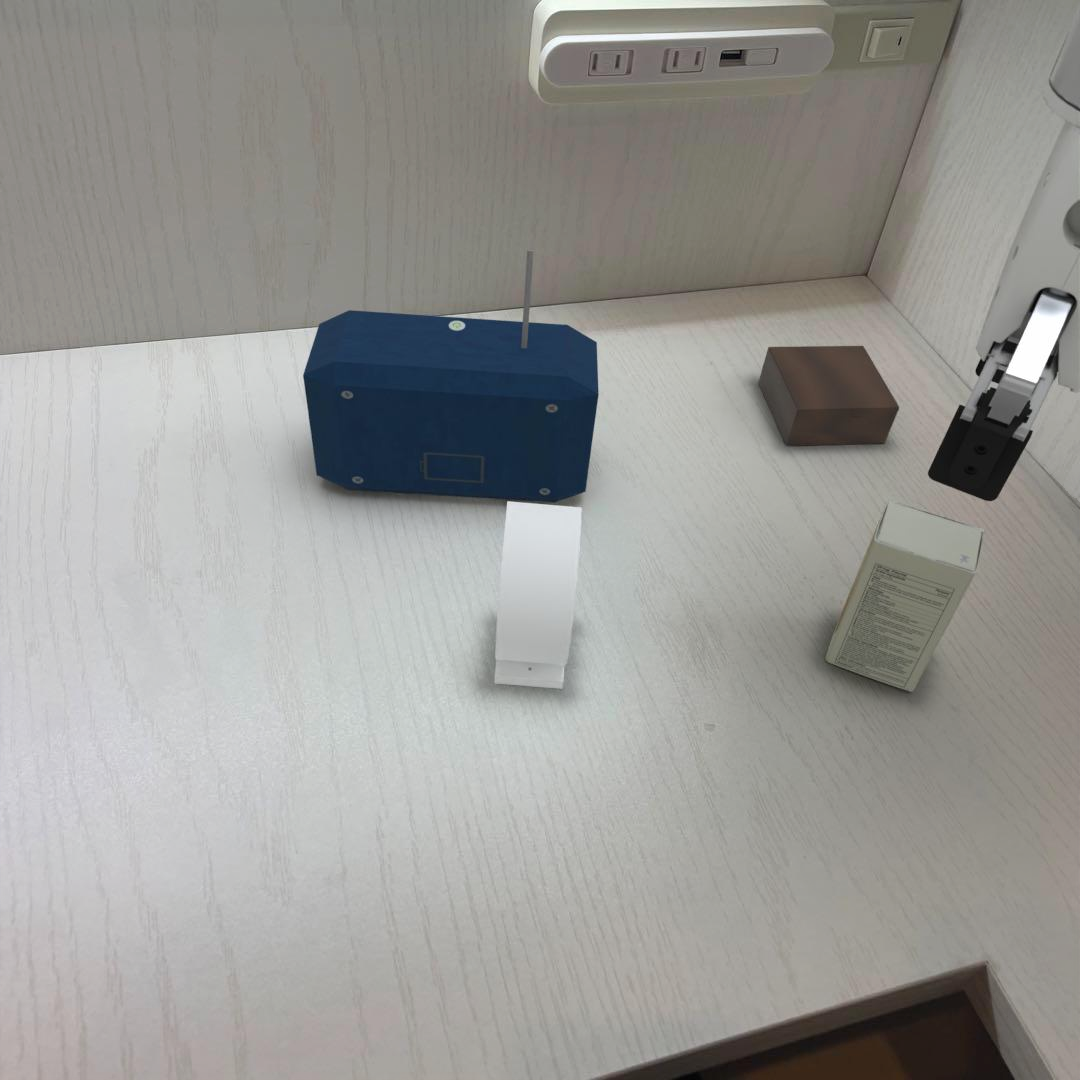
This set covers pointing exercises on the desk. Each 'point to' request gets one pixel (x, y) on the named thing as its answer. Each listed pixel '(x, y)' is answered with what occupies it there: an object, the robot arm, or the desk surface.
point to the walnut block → (827, 395)
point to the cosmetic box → (905, 594)
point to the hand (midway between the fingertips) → (983, 431)
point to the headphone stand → (537, 594)
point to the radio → (453, 405)
